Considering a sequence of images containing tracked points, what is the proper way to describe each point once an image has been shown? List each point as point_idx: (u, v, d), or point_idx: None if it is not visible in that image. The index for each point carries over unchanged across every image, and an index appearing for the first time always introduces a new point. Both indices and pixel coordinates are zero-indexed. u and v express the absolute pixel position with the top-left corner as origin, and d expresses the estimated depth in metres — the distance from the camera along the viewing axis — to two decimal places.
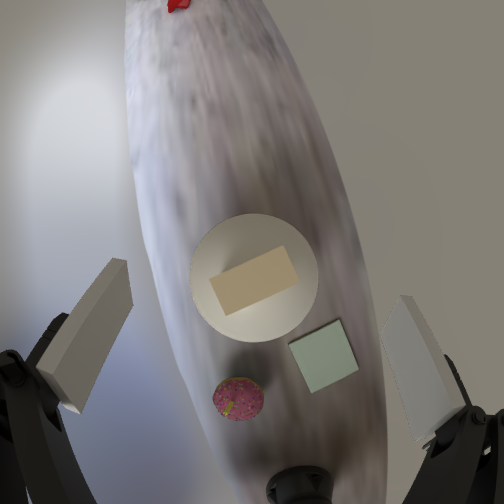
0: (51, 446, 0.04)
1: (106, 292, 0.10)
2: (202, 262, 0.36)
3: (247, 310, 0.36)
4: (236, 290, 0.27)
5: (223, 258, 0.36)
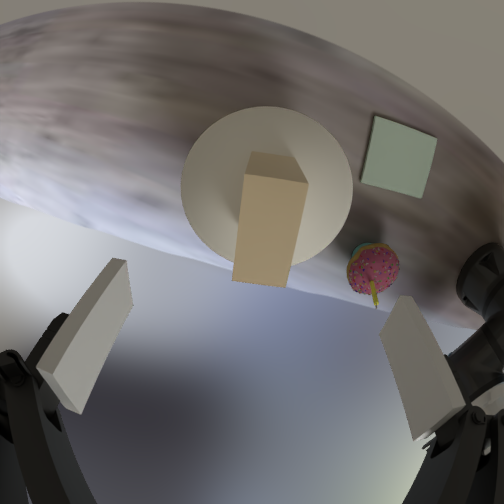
0: (51, 446, 0.04)
1: (106, 292, 0.10)
2: (215, 236, 0.29)
3: None
4: (264, 261, 0.20)
5: (223, 213, 0.28)
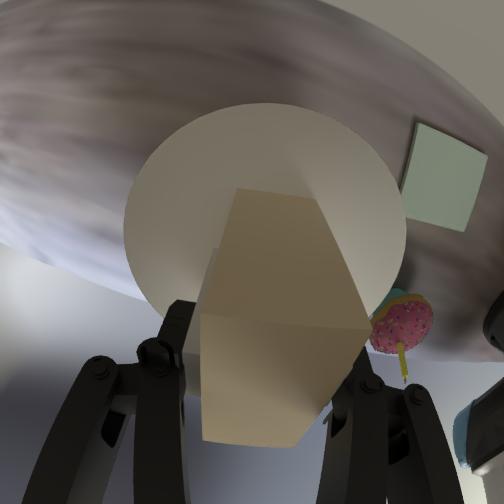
0: None
1: None
2: None
3: None
4: (257, 430, 0.09)
5: (194, 287, 0.17)
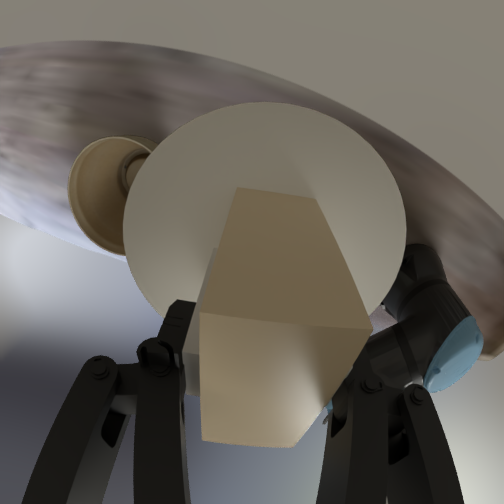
0: None
1: None
2: None
3: None
4: (256, 430, 0.09)
5: (193, 286, 0.17)
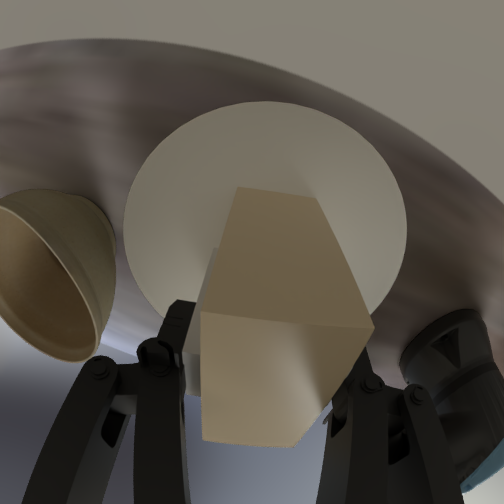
0: None
1: None
2: None
3: None
4: (257, 430, 0.09)
5: (194, 286, 0.17)
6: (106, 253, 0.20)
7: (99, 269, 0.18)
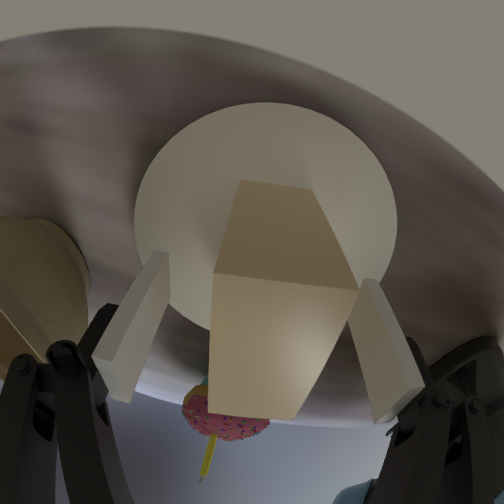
0: (99, 442, 0.05)
1: (154, 282, 0.11)
2: (190, 302, 0.19)
3: None
4: (259, 398, 0.10)
5: (199, 272, 0.18)
6: (70, 296, 0.15)
7: (60, 320, 0.13)
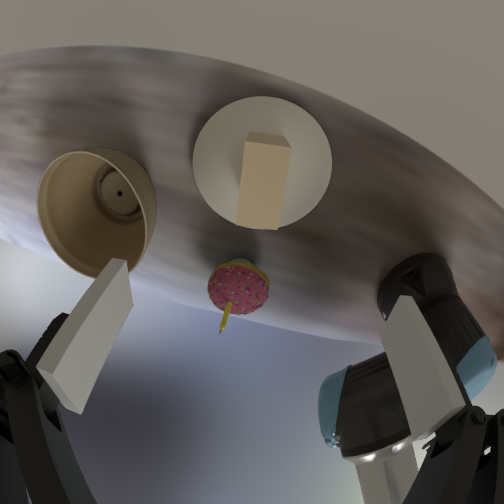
0: (51, 446, 0.04)
1: (107, 292, 0.10)
2: (220, 201, 0.35)
3: (287, 189, 0.34)
4: (260, 208, 0.25)
5: (227, 181, 0.33)
6: (153, 191, 0.30)
7: (150, 198, 0.28)
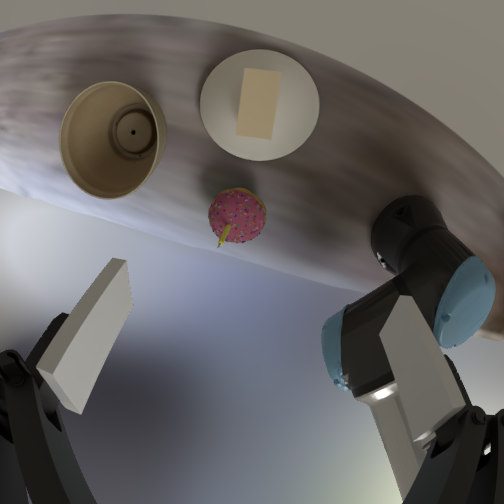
0: (51, 446, 0.04)
1: (106, 292, 0.10)
2: (222, 135, 0.37)
3: (281, 124, 0.36)
4: (256, 120, 0.28)
5: (229, 117, 0.36)
6: (165, 121, 0.33)
7: (163, 123, 0.31)
